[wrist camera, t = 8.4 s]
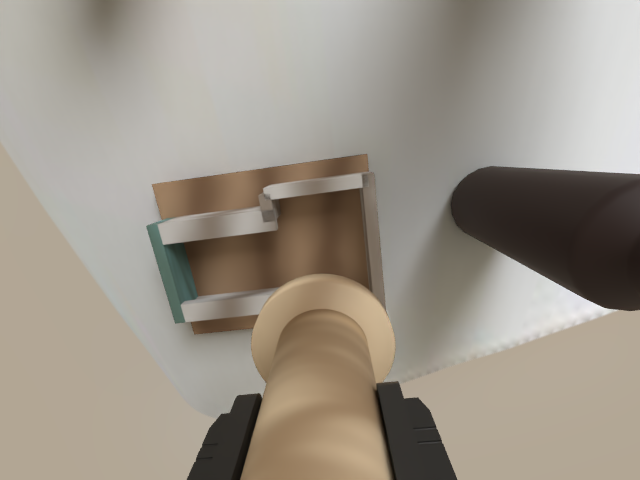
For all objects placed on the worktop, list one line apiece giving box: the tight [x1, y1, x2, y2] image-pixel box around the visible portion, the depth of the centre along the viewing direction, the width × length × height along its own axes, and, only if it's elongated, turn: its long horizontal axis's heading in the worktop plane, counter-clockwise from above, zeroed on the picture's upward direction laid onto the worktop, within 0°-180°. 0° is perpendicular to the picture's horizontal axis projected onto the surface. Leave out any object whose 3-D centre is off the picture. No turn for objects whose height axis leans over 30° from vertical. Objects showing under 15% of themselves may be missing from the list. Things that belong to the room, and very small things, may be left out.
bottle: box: [451, 166, 640, 311], centre depth 19 cm, size 7×7×20 cm
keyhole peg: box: [240, 274, 395, 480], centre depth 9 cm, size 6×6×11 cm
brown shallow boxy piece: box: [146, 154, 386, 334], centre depth 28 cm, size 20×16×5 cm
